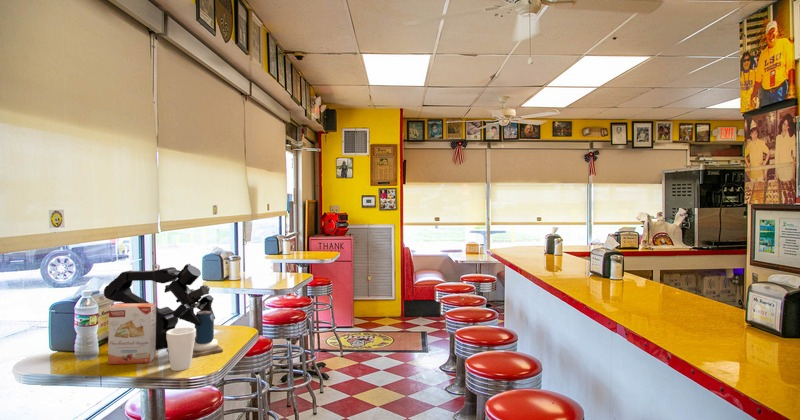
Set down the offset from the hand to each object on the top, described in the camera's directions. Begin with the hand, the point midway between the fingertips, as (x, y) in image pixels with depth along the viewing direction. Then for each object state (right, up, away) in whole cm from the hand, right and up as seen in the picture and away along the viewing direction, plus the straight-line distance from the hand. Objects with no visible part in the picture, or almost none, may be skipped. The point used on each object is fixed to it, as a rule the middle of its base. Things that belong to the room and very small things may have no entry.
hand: (207, 322), depth 175 cm
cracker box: (-21, -11, -14) cm, 28 cm away
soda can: (-2, -8, 0) cm, 8 cm away
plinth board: (-5, -11, -1) cm, 12 cm away
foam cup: (-1, -11, -19) cm, 22 cm away
